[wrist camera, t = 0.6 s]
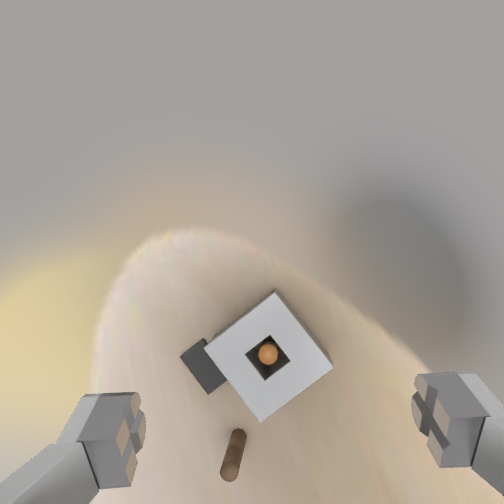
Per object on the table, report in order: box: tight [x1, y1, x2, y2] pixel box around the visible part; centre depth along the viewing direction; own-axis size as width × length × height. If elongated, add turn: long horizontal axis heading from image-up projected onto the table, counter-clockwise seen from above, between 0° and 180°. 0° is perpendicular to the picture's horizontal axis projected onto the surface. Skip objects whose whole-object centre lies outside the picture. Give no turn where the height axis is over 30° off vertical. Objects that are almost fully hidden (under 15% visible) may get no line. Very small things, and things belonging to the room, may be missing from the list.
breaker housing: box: [204, 288, 334, 422], centre depth 56 cm, size 14×14×7 cm
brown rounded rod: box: [220, 429, 247, 482], centre depth 55 cm, size 3×3×10 cm
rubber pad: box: [180, 338, 227, 394], centre depth 60 cm, size 8×5×1 cm, turn 39°
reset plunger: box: [258, 341, 278, 365], centre depth 55 cm, size 3×3×2 cm
